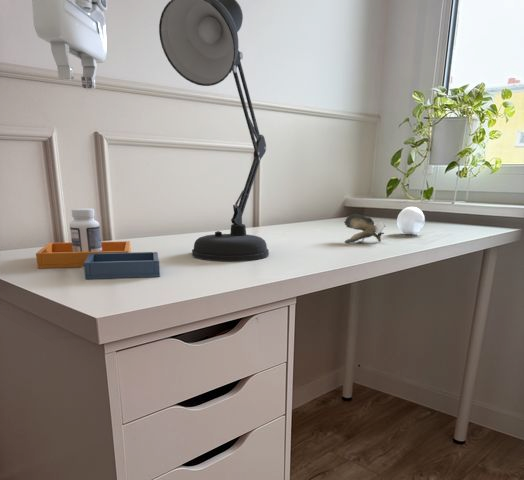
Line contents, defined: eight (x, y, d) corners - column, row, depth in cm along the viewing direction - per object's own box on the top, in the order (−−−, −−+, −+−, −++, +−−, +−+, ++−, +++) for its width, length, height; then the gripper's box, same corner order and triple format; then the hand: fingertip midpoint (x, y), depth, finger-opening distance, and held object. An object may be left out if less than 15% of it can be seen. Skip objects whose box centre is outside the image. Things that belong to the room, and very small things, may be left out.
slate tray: (85, 279, 82) (83, 262, 81) (90, 268, 91) (89, 253, 90) (159, 276, 84) (159, 260, 83) (158, 266, 93) (157, 251, 92)
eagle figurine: (373, 234, 131) (340, 227, 130) (385, 211, 126) (350, 204, 124) (378, 254, 127) (343, 248, 125) (390, 232, 121) (354, 224, 119)
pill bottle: (104, 254, 101) (99, 207, 98) (101, 259, 96) (96, 210, 93) (75, 255, 100) (70, 207, 97) (71, 260, 95) (65, 210, 92)
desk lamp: (178, 269, 90) (164, -38, 75) (158, 248, 113) (145, 10, 98) (307, 263, 97) (318, -19, 82) (264, 244, 120) (266, 21, 105)
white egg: (410, 236, 137) (413, 208, 135) (389, 233, 143) (392, 206, 140) (435, 234, 142) (439, 206, 140) (414, 231, 148) (417, 205, 146)
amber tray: (37, 268, 90) (35, 253, 89) (50, 256, 103) (48, 242, 102) (129, 265, 93) (128, 251, 92) (131, 254, 106) (130, 241, 105)
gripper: (60, -45, 68) (72, 73, 72) (110, 2, 87) (117, 93, 92) (12, -45, 68) (28, 73, 72) (73, 2, 87) (82, 93, 92)
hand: (78, 84), depth 82 cm, fingers open, 8 cm apart
